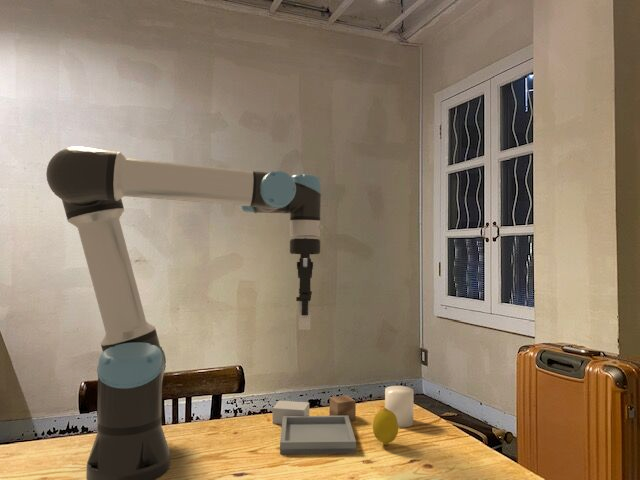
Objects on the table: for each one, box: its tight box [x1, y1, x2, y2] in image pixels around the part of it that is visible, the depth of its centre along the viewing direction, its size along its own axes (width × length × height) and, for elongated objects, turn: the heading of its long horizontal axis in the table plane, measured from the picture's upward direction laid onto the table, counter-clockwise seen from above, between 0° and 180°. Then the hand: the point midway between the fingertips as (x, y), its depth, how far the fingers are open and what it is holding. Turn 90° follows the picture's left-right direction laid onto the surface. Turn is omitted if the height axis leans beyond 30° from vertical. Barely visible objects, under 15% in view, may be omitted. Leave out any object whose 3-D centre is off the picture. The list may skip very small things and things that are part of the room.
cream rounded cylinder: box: [384, 385, 415, 428], centre depth 119 cm, size 7×7×8 cm
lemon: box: [372, 408, 399, 446], centre depth 105 cm, size 6×6×8 cm
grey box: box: [272, 400, 310, 425], centre depth 120 cm, size 8×6×4 cm
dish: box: [279, 415, 357, 455], centre depth 108 cm, size 16×16×2 cm
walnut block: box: [328, 394, 357, 422], centre depth 122 cm, size 5×5×5 cm
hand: (304, 325), depth 117 cm, fingers open, 13 cm apart
